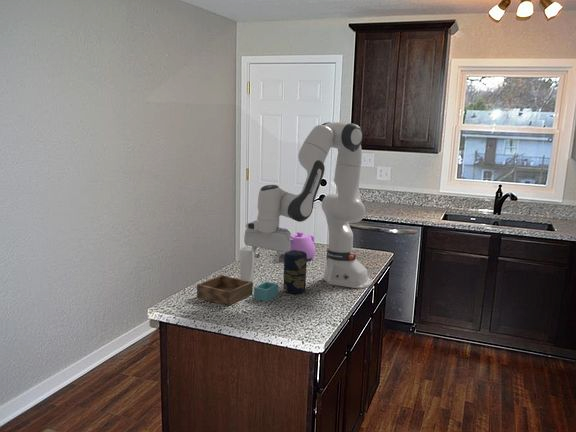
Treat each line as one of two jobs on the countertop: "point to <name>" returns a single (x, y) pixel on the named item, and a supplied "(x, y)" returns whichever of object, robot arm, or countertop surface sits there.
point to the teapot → (303, 244)
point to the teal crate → (266, 291)
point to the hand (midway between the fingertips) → (266, 259)
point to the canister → (295, 271)
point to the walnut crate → (224, 290)
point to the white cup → (246, 263)
